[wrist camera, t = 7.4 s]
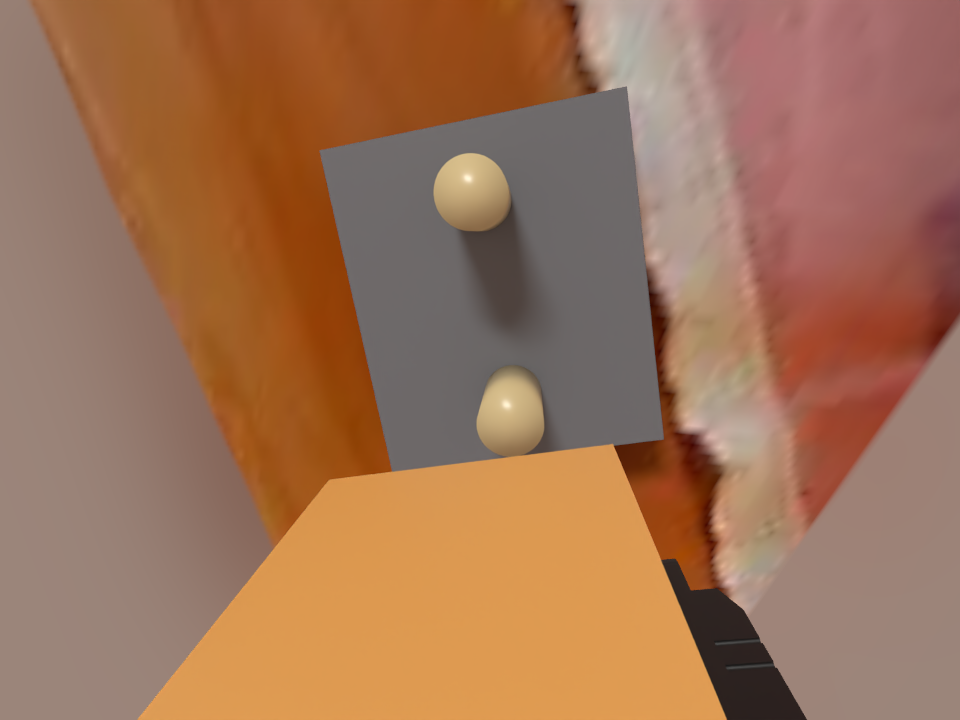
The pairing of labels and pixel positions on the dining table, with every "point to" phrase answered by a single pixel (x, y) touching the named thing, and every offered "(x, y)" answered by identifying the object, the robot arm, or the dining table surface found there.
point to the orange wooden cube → (456, 606)
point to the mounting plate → (501, 282)
